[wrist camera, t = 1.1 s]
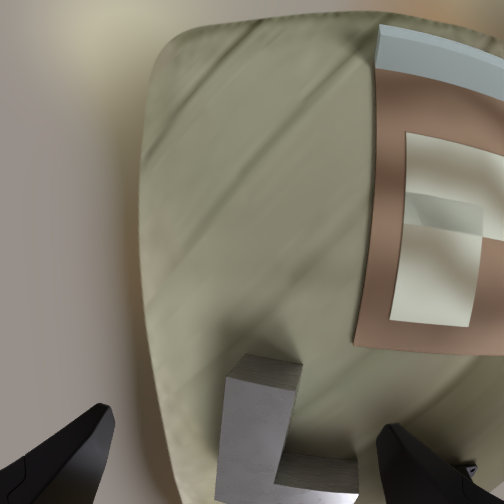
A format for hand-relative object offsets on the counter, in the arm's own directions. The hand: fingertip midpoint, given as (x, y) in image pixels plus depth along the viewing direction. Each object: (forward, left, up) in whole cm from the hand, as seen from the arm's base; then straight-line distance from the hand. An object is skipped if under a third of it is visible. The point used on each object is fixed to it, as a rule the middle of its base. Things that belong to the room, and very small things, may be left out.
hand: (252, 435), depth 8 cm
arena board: (+10, -14, -11) cm, 20 cm away
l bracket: (-8, -2, -11) cm, 14 cm away
